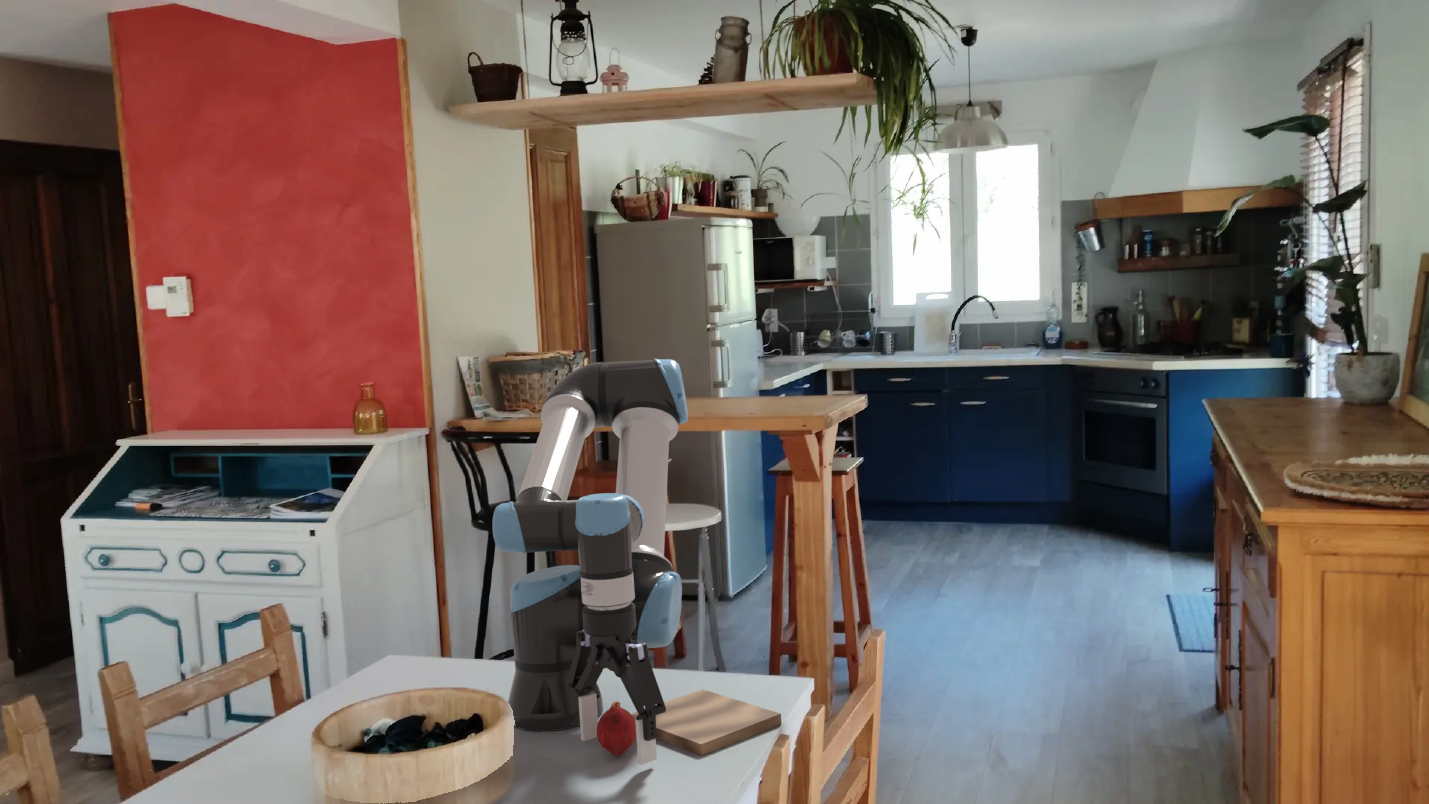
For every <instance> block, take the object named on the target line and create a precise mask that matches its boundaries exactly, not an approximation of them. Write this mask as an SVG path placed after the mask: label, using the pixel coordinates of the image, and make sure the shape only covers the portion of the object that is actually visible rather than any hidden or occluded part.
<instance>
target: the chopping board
mask: <svg viewBox="0 0 1429 804" xmlns="http://www.w3.org/2000/svg"><path fill="white" fill-rule="evenodd" d="M664 704H665V707H666V712H664V713H661V714H659V715H656V732H657V736H656V740H657V739H658V740H659V741H660V740H661V741H663V742H666V743H668V744H671V745H674V746H677V747H678V748H682V749H683V750H684V749H685V750H687V751H689V752H692V753H695V754H697V755H700V756H703V755H705V754H708V753H712V752H714V751H716V750H719V749H721V748H723V747H724V748H725V747H726V746H729V745H732V744H733V743H734V744H735V743H737V742H739V741H742V740H744V739H746V738H749V737H752V736H754V735H757V734H759V733H760V734H761V733H762V732H765V731H767V730H769V729H772V728H775V727H777V726H780V725H782V713H780V712H776V711H774V710H770V709H768V708H764V707H760V706H757V705H755V704H752V703H748V702H745V701H741V700H740V699H739V700H738V699H735V698H732V697H729V696H725V695H724V694H723V695H722V694H719V693H717V692H712V691H711V690H706V689H700V690H696V691H693V692H691V693H688V694H685V695H683V696H679V697H676V698H673V699H670V700H667V701H665V702H664ZM630 714H631V715H632V716H633V718H634V719H635V718H636V717H637V716H638V715H639V714H638V712H637V711H636V712H632V713H630Z"/></svg>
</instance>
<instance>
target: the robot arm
mask: <svg viewBox="0 0 1429 804" xmlns="http://www.w3.org/2000/svg"><path fill="white" fill-rule="evenodd" d="M688 421H689V414H688V405H687V397H686V391H685V386H684V380H683V375H682V370H681V366H680V364H679V362H677V361H676V360H674V359H669V358H667V359H662V358H661V359H658V358H653V359H651V360H648V359H647V360H646V359H645V360H629V361H627V360H626V361H625V360H623V361H622V360H621V361H607V362H604V361H599V362H591V363H589V364H585V365H583V366H580V367H579V368H577V369H575V370H573V371H572V372H570V373H568V375H566V376H564V377H563V378H562V379H561V380H560V381H559V382H558V383H557V384H556V385H555V386H554V387H553V388H552V389H551V390H550V392H549V393H548V395H547V397H546V398H545V400H544V403H543V406H542V408H541V411H540V422H541V424H542V426H541V429H540V431H539V435H538V437H537V440H536V444H535V446H534V448H533V452H532V455H531V457H530V461H529V463H528V465H527V466H528V467H527V470H526V472H525V475H524V478H523V481H522V484H521V486H520V490H519V492H518V496H517V498H516V501H515V502H514V501H513V500H512V501H509V502H504V503H500V504H499V505H497V506H496V507H495V509H494V511H493V516H492V537H493V540H494V543H495V545H496V548H497V549H498V550H500V551H501V552H504V553H523V554H526V553H539V552H556V551H557V552H558V551H577V552H578V561H579V562H578V563H579V565H578V564H575V565H574V564H565V565H556V566H551V567H547V568H543V569H542V568H541V569H537V570H534V571H532V572H529V573H527V574H524V575H522V576H520V577H518V578H517V579H515V581H514V582H513V583H512V584H511V587H510V607H509V612H510V617H511V628H512V629H511V630H512V643H513V656H514V668H515V670H514V676H513V680H512V684H511V688H510V692H509V696H508V701H507V703H509V704H510V706H511V708H512V710H513V716H514V720H515V725H516V727H515V728H518V729H521V730H526V731H527V730H528V731H536V732H538V731H540V732H541V731H542V732H543V731H558V730H559V731H560V730H564V729H571V728H575V727H579V726H580V727H579V728H580V740H581V742H587V741H590V740H593V739H595V738H597V725H598V722H599V717H600V716H602V714H603V712H604V703H603V696H602V692H601V689H600V688H599V685H598V680H599V679H600V676H601V674H602V673H603V671H604V670H605V669H607V670H609V671H610V672H613V673H614V675H615V676H616V677H617V678H619V679H620V681H621V683H622V685H623V686H624V688H625V691H626V692H627V694H628V696H629V698H630V700H631V702H632V704H633V706H634V708H635V710H636V712H638V714H639V715H638V716H637V717H636V718H635V723H636V750H637V764H638V765H640V766H642V765H645V764H648V763H650V762H653V761H655V760H657V759H658V758H657V755H658V754H657V741H656V740H657V738H656V736H657V732H656V715H659V714H661V713H664V712H666V707H665V704H664V699H663V696H662V693H661V689H660V687H659V683H658V681H657V679H656V675H655V673H654V669H653V667H652V664H651V661H650V658H649V650H648V649H654V648H655V649H656V648H663V647H666V646H668V645H670V644H671V643H672V642H673V641H674V639H675V637H676V635H677V632H678V628H679V624H680V618H681V614H682V604H683V603H682V602H683V601H682V596H683V584H682V578H681V575H680V574H679V573H677V572H675V571H674V569H673V568H674V567H673V564H672V563H671V561H670V559H668V558H667V557H665V543H666V541H665V540H666V539H665V537H666V516H667V498H668V495H667V494H668V469H669V450H670V449H669V448H670V441H672V440H673V439H674V438H675V437H676V436H677V434H678V432H679V425H683V424H686V423H687V422H688ZM605 427H606V428H611V427H612V432H613V433H614V434H615V435H616V436H617V438H619V445H618V446H619V447H618V457H617V458H618V459H617V469H616V470H617V472H616V473H617V474H616V486H615V492H614V493H613V492H604V493H603V492H602V493H594V494H587V495H584V496H582V497H580V498H579V499H570V500H568V497H569V495H570V490H571V486H572V485H573V484H572V483H573V480H574V478H575V473H576V471H577V470H576V469H577V467H578V463H579V460H580V456H581V453H582V450H583V446H584V442H585V439H586V438H588V437H589V436H590V435H591V434H592V432H593V431H594V430H595V428H605ZM628 664H629V665H628Z"/></svg>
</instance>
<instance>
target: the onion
mask: <svg viewBox="0 0 1429 804" xmlns="http://www.w3.org/2000/svg"><path fill="white" fill-rule="evenodd" d="M631 714H632V713H631V712H629V711H628V710H626V708H623V707H621V702H620V701H618V700H615V701H613V702H612V704H611V706H610V707H609V709H607V710H606V711H605V712H604V713H602V714H601V715H600V716H601V717H600V718H598V725H597V737H596V738H597V742H598V743H599V745H600V746H601V747H602V748H603V750H605V751H606V752H607V753H609V754H611V755H613V756H614V757H618V758H619V757H622V756H623V755H624V754H625V753H626V752H627V751H628V750H629V749H630V748H631V747H632V746H633V744H634V743H635V742H636V741H637V738H636V723H635V719H634V718H633V716H632V715H631Z"/></svg>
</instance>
